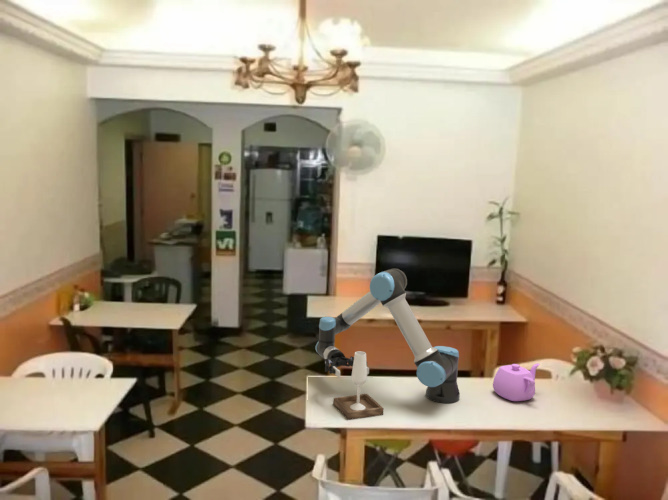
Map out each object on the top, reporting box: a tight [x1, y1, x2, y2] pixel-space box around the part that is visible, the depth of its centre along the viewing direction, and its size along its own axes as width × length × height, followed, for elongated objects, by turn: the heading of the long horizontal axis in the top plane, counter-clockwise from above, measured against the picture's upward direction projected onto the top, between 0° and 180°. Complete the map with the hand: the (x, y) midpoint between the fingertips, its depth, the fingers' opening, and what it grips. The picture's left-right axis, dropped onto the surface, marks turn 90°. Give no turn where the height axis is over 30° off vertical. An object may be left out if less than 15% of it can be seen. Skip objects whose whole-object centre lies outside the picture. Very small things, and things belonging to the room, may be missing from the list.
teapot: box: [492, 363, 540, 402], centre depth 281 cm, size 23×21×15 cm
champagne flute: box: [350, 350, 368, 410], centre depth 259 cm, size 7×7×24 cm
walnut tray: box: [332, 393, 384, 421], centre depth 261 cm, size 16×16×3 cm
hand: (354, 372), depth 263 cm, fingers open, 13 cm apart
